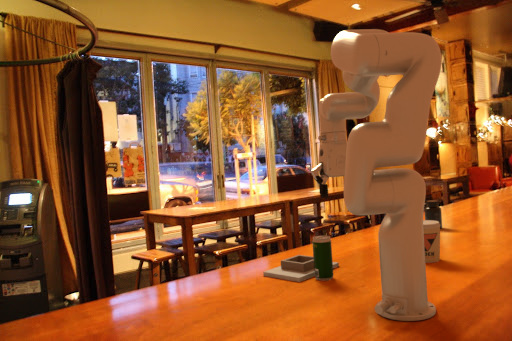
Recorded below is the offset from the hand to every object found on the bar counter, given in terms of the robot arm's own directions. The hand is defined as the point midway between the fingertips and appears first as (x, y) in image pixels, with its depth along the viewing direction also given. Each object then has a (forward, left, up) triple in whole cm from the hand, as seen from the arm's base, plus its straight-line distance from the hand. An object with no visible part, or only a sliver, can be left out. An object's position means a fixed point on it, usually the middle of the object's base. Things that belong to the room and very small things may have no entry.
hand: (337, 195), depth 136 cm
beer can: (-9, +1, -23) cm, 25 cm away
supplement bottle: (+78, +5, -23) cm, 82 cm away
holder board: (-5, +12, -23) cm, 26 cm away
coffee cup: (+24, -15, -23) cm, 37 cm away
